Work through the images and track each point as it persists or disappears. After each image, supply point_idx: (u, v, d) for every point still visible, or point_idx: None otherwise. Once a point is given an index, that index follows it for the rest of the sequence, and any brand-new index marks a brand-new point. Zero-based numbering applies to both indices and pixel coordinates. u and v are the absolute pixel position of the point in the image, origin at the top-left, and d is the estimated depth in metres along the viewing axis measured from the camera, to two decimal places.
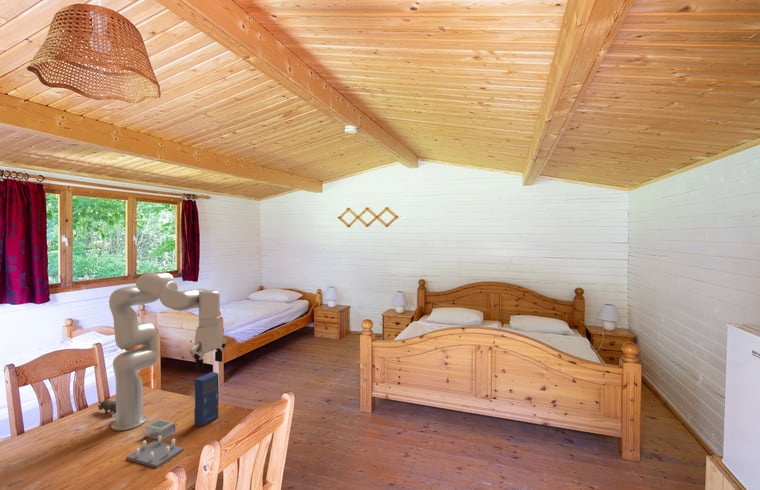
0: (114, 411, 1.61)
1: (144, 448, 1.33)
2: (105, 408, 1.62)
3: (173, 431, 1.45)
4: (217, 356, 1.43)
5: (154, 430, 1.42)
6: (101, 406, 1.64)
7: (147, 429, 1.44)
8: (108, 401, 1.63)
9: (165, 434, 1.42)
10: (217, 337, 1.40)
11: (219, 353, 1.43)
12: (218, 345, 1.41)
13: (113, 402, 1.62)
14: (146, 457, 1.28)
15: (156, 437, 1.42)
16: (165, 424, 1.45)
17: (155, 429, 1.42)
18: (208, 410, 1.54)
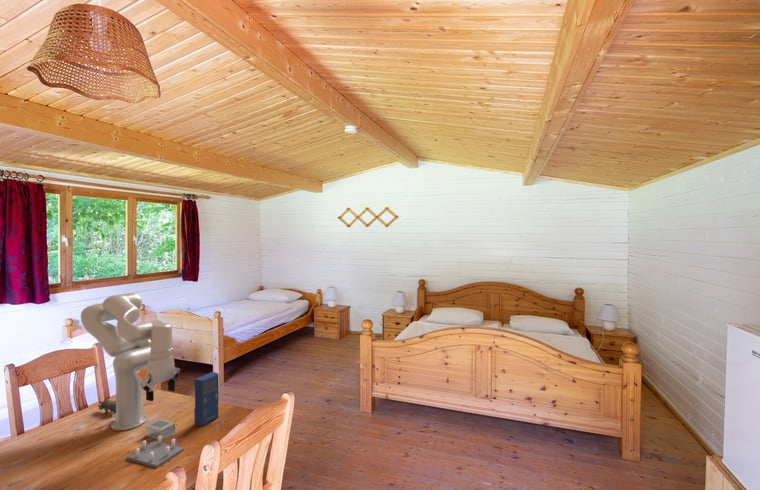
0: (114, 411, 1.61)
1: (144, 448, 1.33)
2: (105, 408, 1.62)
3: (173, 431, 1.45)
4: (170, 386, 1.49)
5: (154, 430, 1.42)
6: (101, 406, 1.64)
7: (147, 429, 1.44)
8: (108, 401, 1.63)
9: (165, 434, 1.42)
10: (169, 368, 1.46)
11: (172, 383, 1.49)
12: (170, 375, 1.47)
13: (113, 402, 1.62)
14: (146, 457, 1.28)
15: (156, 437, 1.42)
16: (165, 424, 1.45)
17: (155, 429, 1.42)
18: (208, 410, 1.54)
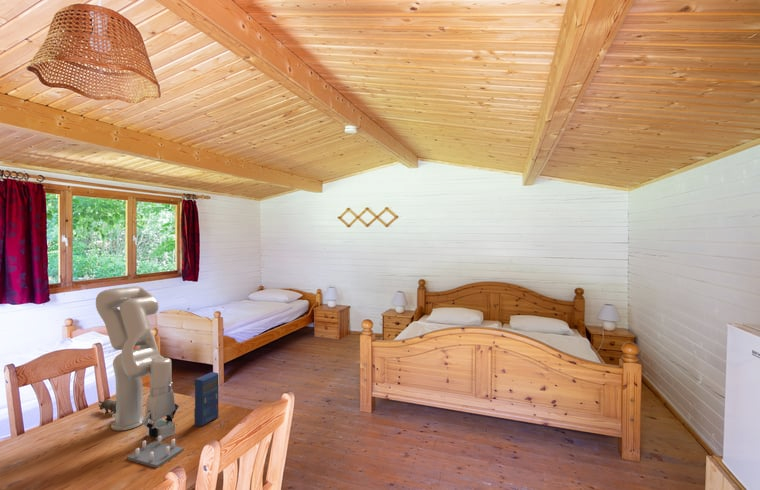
0: (114, 411, 1.61)
1: (144, 448, 1.33)
2: (105, 408, 1.62)
3: (172, 431, 1.45)
4: None
5: None
6: (102, 406, 1.64)
7: (148, 428, 1.44)
8: (108, 401, 1.63)
9: (164, 434, 1.42)
10: (169, 403, 1.46)
11: None
12: (170, 410, 1.47)
13: (113, 402, 1.62)
14: (146, 457, 1.28)
15: None
16: (165, 424, 1.44)
17: None
18: (208, 410, 1.54)
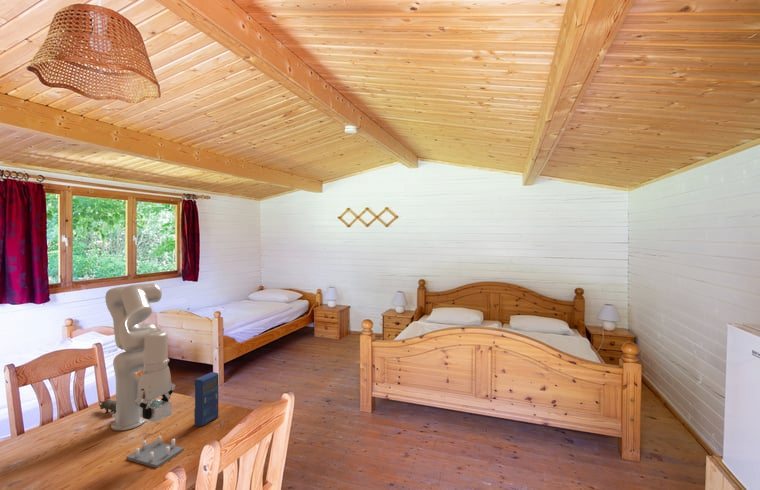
0: (114, 411, 1.61)
1: (144, 448, 1.33)
2: (106, 408, 1.62)
3: (169, 412, 1.31)
4: None
5: None
6: (102, 405, 1.64)
7: (141, 408, 1.30)
8: (109, 401, 1.63)
9: (159, 415, 1.28)
10: (164, 382, 1.32)
11: None
12: (166, 389, 1.33)
13: (113, 402, 1.62)
14: (146, 457, 1.28)
15: (150, 418, 1.28)
16: (160, 404, 1.30)
17: None
18: (208, 410, 1.54)
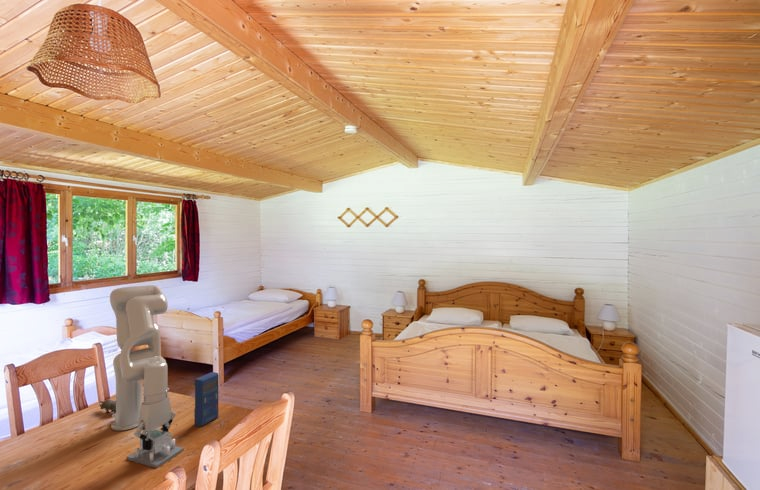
0: (114, 411, 1.61)
1: None
2: (106, 408, 1.63)
3: (169, 443, 1.31)
4: None
5: None
6: (102, 405, 1.64)
7: (141, 439, 1.30)
8: (109, 401, 1.64)
9: (159, 446, 1.28)
10: (164, 412, 1.32)
11: None
12: (166, 419, 1.33)
13: (113, 402, 1.62)
14: (146, 457, 1.28)
15: (150, 449, 1.28)
16: (160, 434, 1.30)
17: None
18: (208, 410, 1.54)
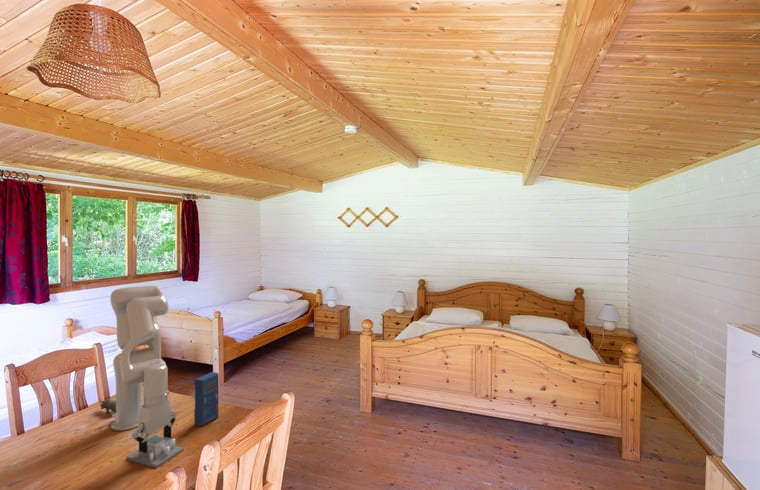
0: (114, 411, 1.61)
1: None
2: (106, 407, 1.63)
3: None
4: (166, 433, 1.35)
5: (148, 447, 1.28)
6: (103, 405, 1.64)
7: None
8: (109, 400, 1.64)
9: (159, 452, 1.28)
10: (164, 414, 1.32)
11: (168, 430, 1.35)
12: (166, 422, 1.33)
13: (114, 402, 1.62)
14: (146, 457, 1.28)
15: None
16: (160, 440, 1.31)
17: (148, 446, 1.28)
18: (208, 410, 1.54)
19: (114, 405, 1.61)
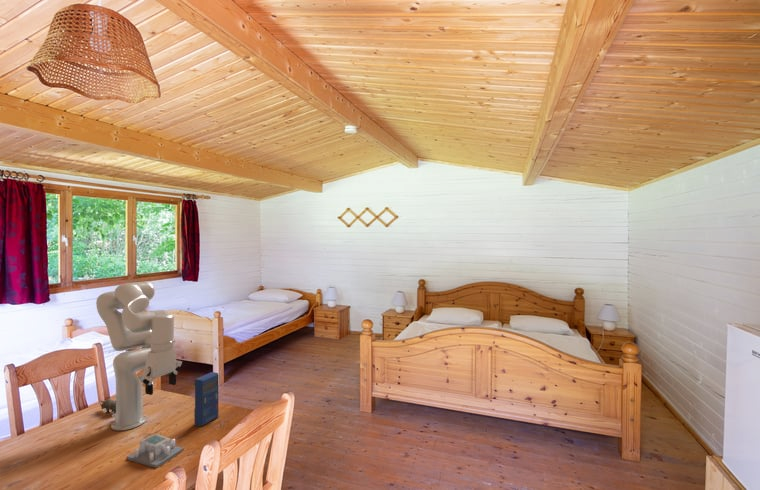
0: (114, 411, 1.61)
1: None
2: (106, 407, 1.63)
3: None
4: (171, 379, 1.42)
5: (148, 447, 1.28)
6: (103, 405, 1.65)
7: (141, 445, 1.30)
8: (109, 400, 1.64)
9: (159, 452, 1.28)
10: (170, 361, 1.39)
11: (173, 376, 1.42)
12: (171, 369, 1.40)
13: (114, 402, 1.62)
14: (146, 457, 1.28)
15: None
16: (160, 440, 1.31)
17: (148, 446, 1.28)
18: (208, 410, 1.54)
19: (114, 405, 1.61)
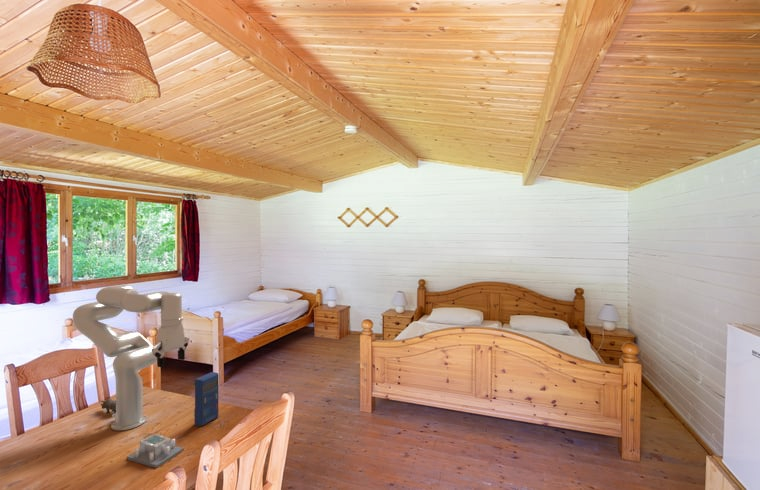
0: (114, 411, 1.61)
1: None
2: (106, 407, 1.63)
3: None
4: (180, 355, 1.53)
5: (148, 447, 1.28)
6: (103, 405, 1.65)
7: (141, 445, 1.30)
8: (109, 400, 1.64)
9: (159, 452, 1.28)
10: (179, 337, 1.49)
11: (181, 352, 1.52)
12: (180, 344, 1.50)
13: (114, 402, 1.62)
14: (146, 457, 1.28)
15: None
16: (160, 440, 1.31)
17: (148, 446, 1.28)
18: (208, 410, 1.54)
19: (114, 405, 1.61)
